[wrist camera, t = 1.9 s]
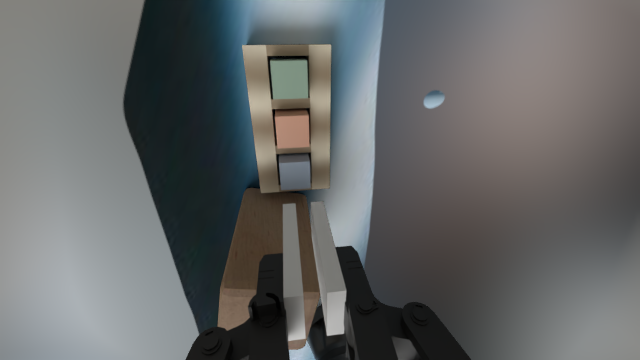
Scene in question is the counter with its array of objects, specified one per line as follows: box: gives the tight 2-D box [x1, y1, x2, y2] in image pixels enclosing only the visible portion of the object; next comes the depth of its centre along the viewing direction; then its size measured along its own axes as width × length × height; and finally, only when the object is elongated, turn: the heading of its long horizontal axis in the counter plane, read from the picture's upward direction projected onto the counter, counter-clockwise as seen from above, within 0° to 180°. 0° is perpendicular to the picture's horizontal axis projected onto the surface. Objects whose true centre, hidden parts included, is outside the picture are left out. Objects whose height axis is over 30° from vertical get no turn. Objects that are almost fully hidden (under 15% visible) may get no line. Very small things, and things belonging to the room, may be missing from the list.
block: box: [218, 188, 320, 350], centre depth 36 cm, size 10×10×20 cm
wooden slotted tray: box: [242, 44, 331, 193], centre depth 36 cm, size 19×10×4 cm, turn 1°
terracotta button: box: [275, 108, 309, 149], centre depth 34 cm, size 4×4×4 cm
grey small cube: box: [279, 152, 311, 190], centre depth 37 cm, size 4×4×4 cm
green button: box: [270, 58, 308, 99], centre depth 31 cm, size 4×4×4 cm
